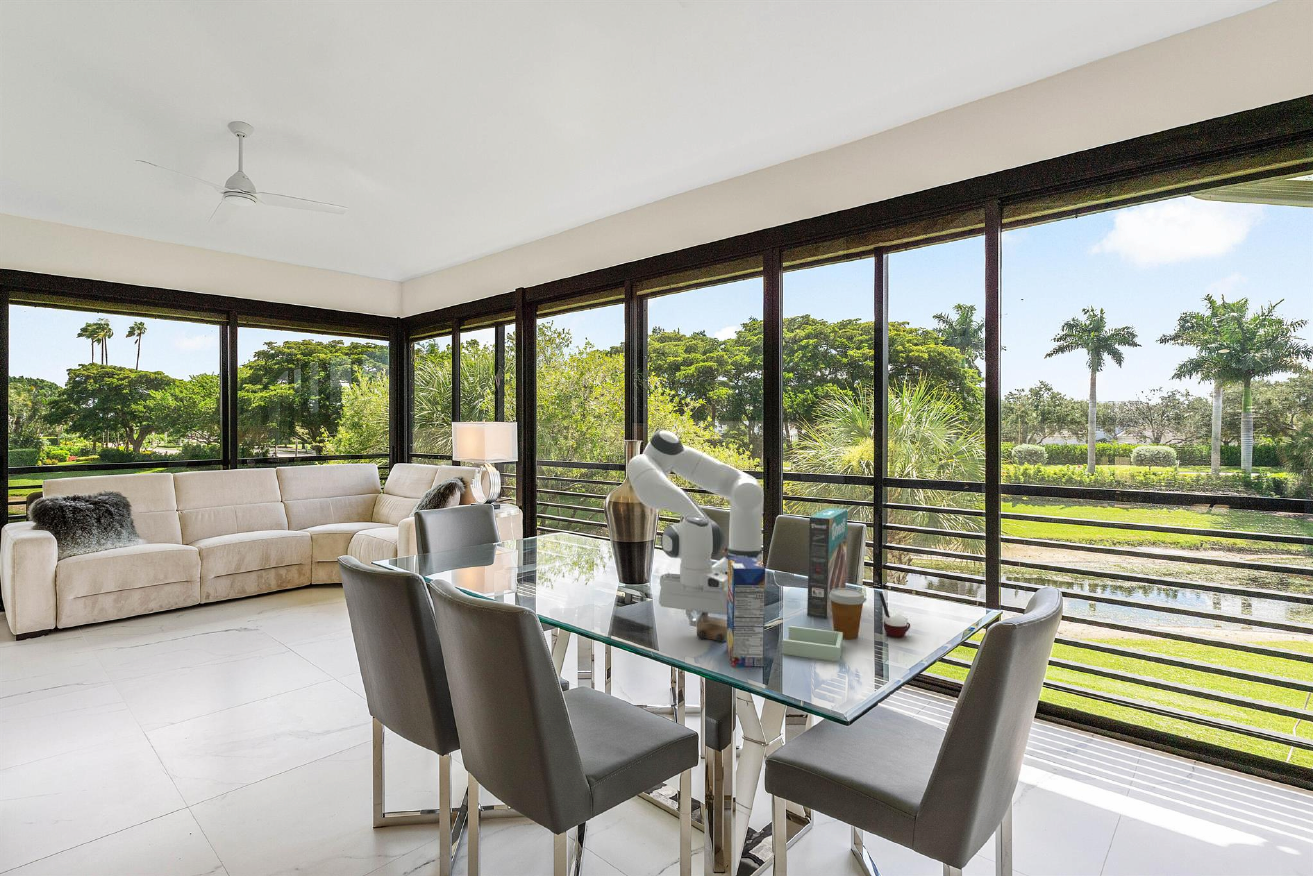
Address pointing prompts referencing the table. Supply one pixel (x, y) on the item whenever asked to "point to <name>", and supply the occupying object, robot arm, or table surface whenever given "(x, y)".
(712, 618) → the cart
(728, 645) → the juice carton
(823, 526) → the cake mix box
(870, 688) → the table surface
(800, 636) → the bay
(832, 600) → the disposable coffee cup
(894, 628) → the cocoa
